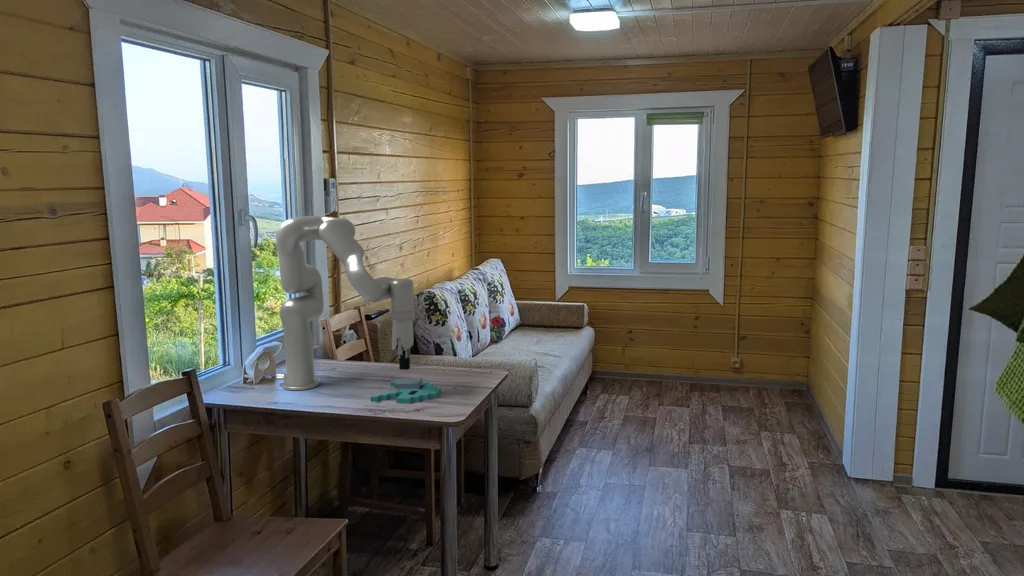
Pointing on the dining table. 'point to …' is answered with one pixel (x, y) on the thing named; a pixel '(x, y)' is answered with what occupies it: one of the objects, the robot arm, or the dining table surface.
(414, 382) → the grey flat block
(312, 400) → the dining table surface
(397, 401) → the alien figure
